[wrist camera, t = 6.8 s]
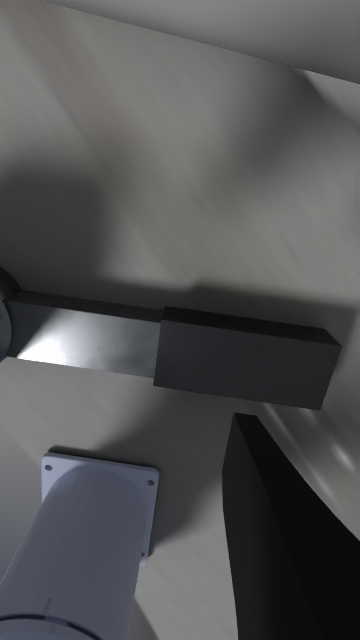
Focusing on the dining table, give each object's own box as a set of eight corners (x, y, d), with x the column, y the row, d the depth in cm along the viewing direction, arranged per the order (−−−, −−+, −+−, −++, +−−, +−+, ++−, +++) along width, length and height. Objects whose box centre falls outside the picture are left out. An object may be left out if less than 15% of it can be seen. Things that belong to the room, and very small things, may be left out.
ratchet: (301, 405, 20) (332, 468, 15) (-71, 350, 20) (-153, 395, 15) (331, 307, 18) (379, 344, 13) (-86, 246, 18) (-187, 262, 13)
